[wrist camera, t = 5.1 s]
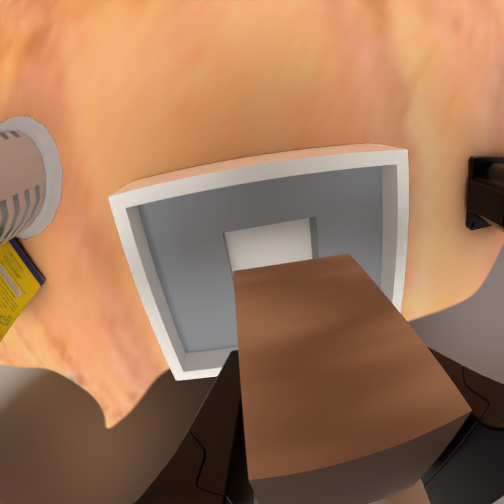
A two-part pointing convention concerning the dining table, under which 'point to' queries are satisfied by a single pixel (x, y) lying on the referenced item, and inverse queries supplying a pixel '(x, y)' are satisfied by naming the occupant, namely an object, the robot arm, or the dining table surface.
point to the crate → (258, 230)
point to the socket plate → (248, 216)
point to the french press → (27, 178)
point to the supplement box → (15, 283)
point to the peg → (335, 386)
